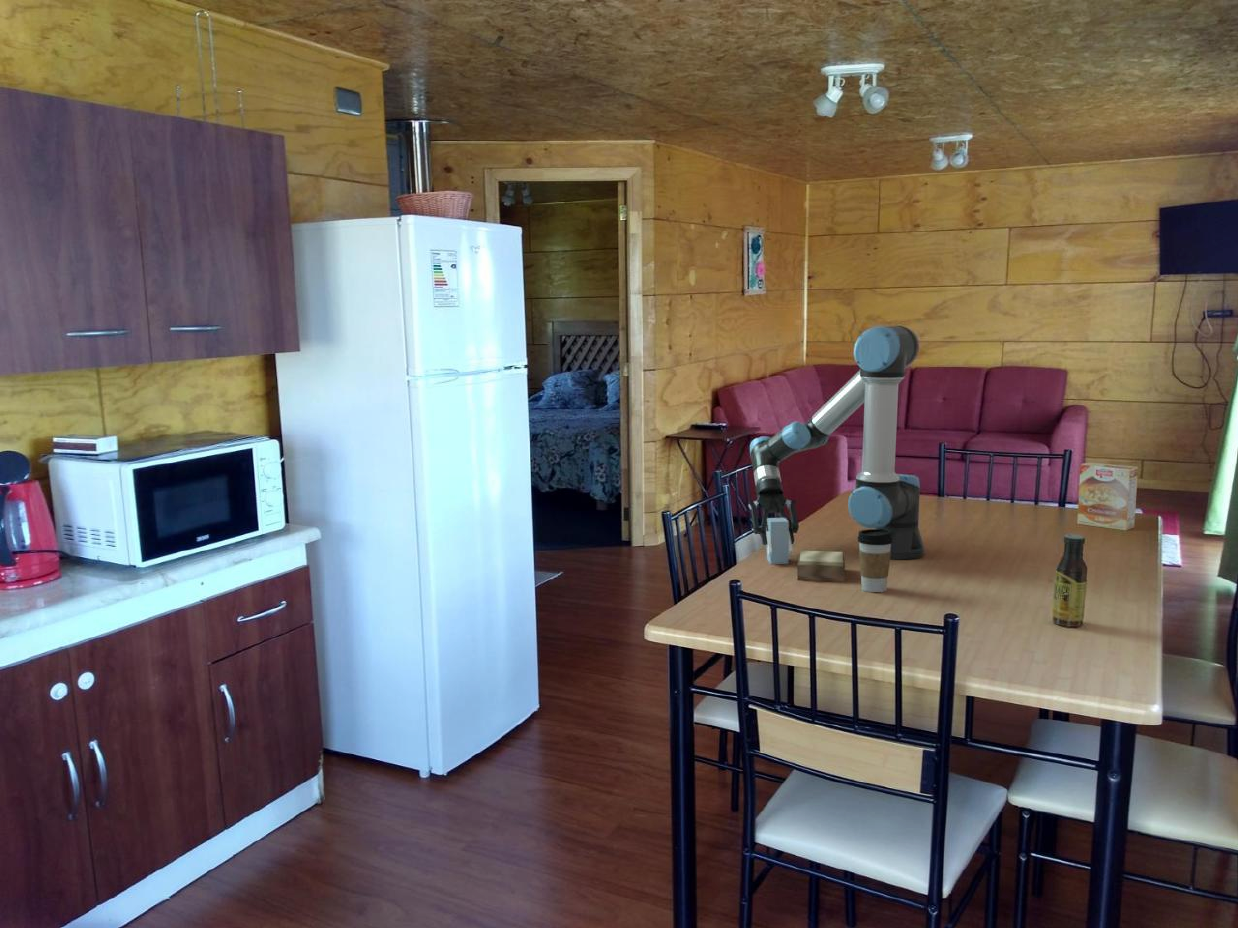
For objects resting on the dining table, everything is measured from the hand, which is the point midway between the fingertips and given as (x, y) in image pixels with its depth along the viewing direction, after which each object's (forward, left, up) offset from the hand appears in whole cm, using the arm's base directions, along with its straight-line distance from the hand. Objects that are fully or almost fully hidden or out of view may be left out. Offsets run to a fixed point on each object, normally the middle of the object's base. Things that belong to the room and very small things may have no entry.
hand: (780, 553), depth 257 cm
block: (+1, -4, -3) cm, 5 cm away
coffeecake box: (-99, -63, -4) cm, 117 cm away
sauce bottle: (-64, +41, -3) cm, 76 cm away
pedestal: (-11, +8, -3) cm, 14 cm away
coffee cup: (-24, +20, -3) cm, 32 cm away
